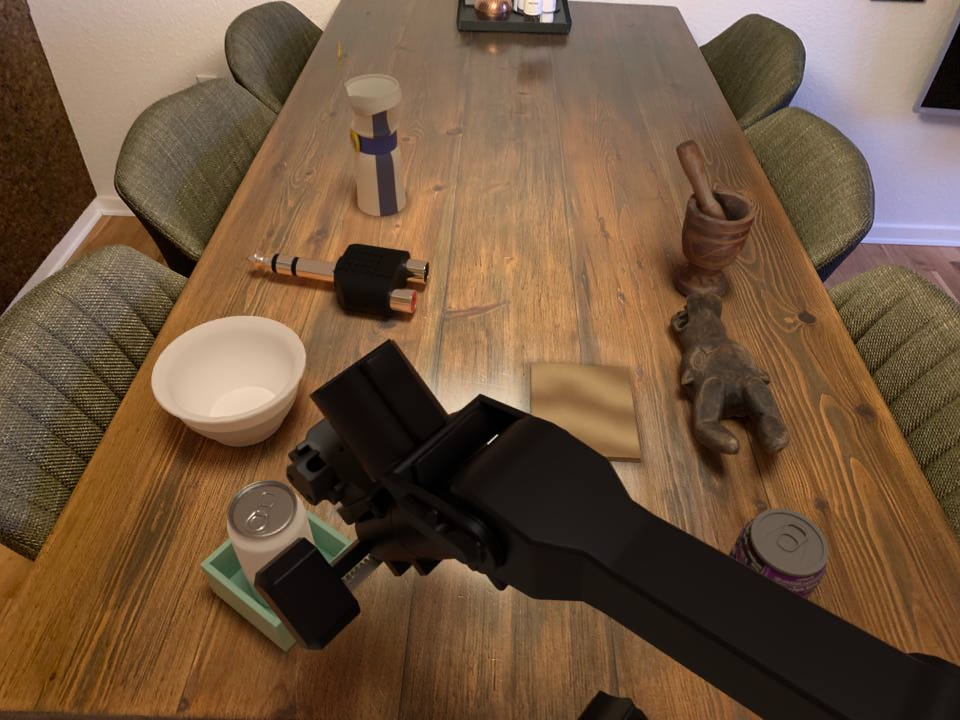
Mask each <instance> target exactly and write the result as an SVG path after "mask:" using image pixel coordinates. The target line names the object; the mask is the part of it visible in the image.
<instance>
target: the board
mask: <svg viewBox="0 0 960 720" xmlns="http://www.w3.org/2000/svg"><path fill="white" fill-rule="evenodd" d="M629 371H630V370H629V367H628V366H616V365H615V366H614V365H613V366H612V365H595V364H575V363H555V362H535V361H532V362H530V414H531V415H533V416H536V417H539V418H542V419H545V420H547V421H550V422H553V423H554V424H556V425H558V426H559V427H561V428H563V429H565V430H567V431H568V432H569V433H570V434H571V435H573V436H574V437H576V438H577V439H579V440H580V441H582V442H583V443H585V444H586V445H588V446H589V447H591V448H592V449H594V450H595V451H597V452H598V453H600V454H601V455H603V456H604V457H606V458H607V459H608V460H609V461H610V462H611V461H613V462H629V463H630V462H633V463H634V462H635V463H640V462H641V459H642V455H641V449H640V442H639V434H638V428H637V420H636V414H635V407H634V399H633V393H632V385H631V379H630V372H629Z"/></svg>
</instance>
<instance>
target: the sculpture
mask: <svg viewBox="0 0 960 720" xmlns="http://www.w3.org/2000/svg"><path fill="white" fill-rule="evenodd" d="M722 312H723V302H722V298H720V297H719V296H717V295H715V294H710V293H703V292H702V293H695V294H691V295H689V296H686V304H685V305H684V306H683V310H679V311H677V312H676V313H675V314H673V315H672V316H671V317H670V325H671V328H672V330H673V332H675V334H676V335H678V338H679V341H680V343H681V346H682V348H683V350H684V353H683V355H682V357H681V359H680V364H679V365H680V366H679V371H680V379H681V381H680V382H681V383H680V385H682V386H683V387H684V389H685V391H686V393H687V394H688V397H689V398H690V400H691V401H692V403H693V406H692V421H693V430H694V433H695V438H696V440H697V441H698V442H699V443H700V444H701V445H702V446H704V447H705V448H707V449H709V450H711V451H713V452H716V453H717V454H721V455H726V456H737V455H738V454H739V452H740V450H741V445H740V442H739V441H740V440H739V439H738V438H737V437H736V436H735V434H734V433H732V432H731V431H730V430H729V429H728V428H727V427H726V426H725V425H722V424H721V423H722V422H721V421H722V419H726V418H730V417H731V418H732V417H740V418H743V417H746V416H748V415H749V417H750V418H751V420H752V422H753V424H754V425H755V427H756V434H757V436H758V439H759V441H760V443H761V445H762V448H763V449H764V450H765V451H766V452H767V453H768V454H769V455H770V454H771V455H776V454H778V453H781V452H782V451H783V450H785V449H786V448H787V446H788V445H789V443H790V439H791V436H790V432H789V428H788V427H787V426H786V425H785V424H784V423H783V421H782V416H781V411H780V408H779V405H778V403H777V400H776V397H775V396H774V394H773V392H772V390H771V389H770V387H769V386H768V385H769V384H770V383H771V382H772V380H773V377H772V375H771V373H769V372H768V371H766V370H765V369H763V368H762V367H759V366H758V364H757V362H756V360H755V358H754V356H753V355H752V354H751V353H750V351H749V350H748V349H747V347H745V346H744V345H742V344H740V343H739V342H737V341H735V340H733V339H730V338H729V337H728V334H727V329H726V327H725V325H724V323H723V321H722V318H721V317H722Z"/></svg>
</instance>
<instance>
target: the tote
mask: <svg viewBox="0 0 960 720" xmlns="http://www.w3.org/2000/svg"><path fill="white" fill-rule="evenodd" d="M305 511H306V514H307V518H308V521H309V525H310V529H311V532H312V536H313V540H314V544H315V546H316V547H317V548H318V550H319V551H320V552H321V553H322V555H323V556H324V557H325V559H326V560H327V561H328V563H331V562H332V561H333V560H334V559H335V558H336V557H337V556H338V555H340V554H341V553H342V552H343V551H344V550H345V549H346V548H348V547H349V546H350V545H351V544H352V543H353V542H354V541H352V540H350V539H349V538H347V537H346V536H345V535H343V534H342V533H340V532H339V531H337V530H336V529H335V528H333V527H332V526H331V525H329V524H328V523H326V522H325V521H323V520H322V519H320V517H318V516H316V515H315V514H314V513H313V512H311V511H309V510H308V509H307V508H305ZM359 563H360V562H359ZM359 563H358V564H357V565H356V566H358V567H359V568H360V565H359ZM199 566H200V568H201V570H202V572H203V574H204V576H205V579H206V580H207V582H208V584H209V586H210V588H211V590H212V592H213V593H214V594H216V595H217V596H218V597H219V598H220V599H221V600H222V601H224V602H225V603H226V604H227V605H229V606H230V607H231V608H232V609H233V610H235V611H236V612H237V613H238V614H239V615H240V616H242V617H243V618H244V619H245V620H246V621H248V622H249V623H250V624H251V625H252V626H253V627H254V628H256V629H257V630H258V631H260V632H261V633H262V634H263V635H265V637H267V638H268V639H269V640H270V641H271V642H273V644H275V645H276V646H277V647H279V648H280V649H281V650H282V651H283V652H285V653H287V652H288V651H289V650H290V649H291V648H292V646H293V645H294V644H295V643H297V641H296V640H295V639H294V637H293V636H292V635H291V634H290V632H289V631H288V630H287V628H286V627H285V626H284V625H283V623H282V622H281V621H280V619H279V618H278V617H277V616H276V614H275V613H274V612H273V610H272V609H271V608H270V607H267V606H265V605H263V604H262V603H261V602H259V601H258V600H257V598H256V597H255V596H254V594H253V592H252V590H251V588H250V585H249V583H248V581H247V579H246V576H245V574H244V572H243V569H242V567H241V565H240V562H239V560H238V557H237V555H236V553H235V550H234V548H233V546H232V543H231V541H230V538H229V537H228V538H227V539H226V540H225V541H224V542H223V543H222V544H220V545H219V546H218V547H217V548H216V549H215V550H214V551H213V552H212V553H210V555H208V557H206V558H205V559H204V560H203V561H202V562H200V563H199ZM356 566H355V567H356ZM355 567H354V568H353V569H352V570H353V571H355ZM355 572H356V571H355ZM346 575H350V576H351V573H350V571H349V572H348V573H347V574H346ZM346 575H345V576H344V577H343V578H342V579H345V580H347V578H346Z"/></svg>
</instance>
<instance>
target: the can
mask: <svg viewBox="0 0 960 720" xmlns="http://www.w3.org/2000/svg"><path fill="white" fill-rule="evenodd" d="M305 509H306V508H305V504H304V502H303V500H302V499H301V498H300V496H299V495H298V494H296V493H295V491H294V490H293V488H292V487H291V486H289V485H288V484H286V483H285V482H283V481H280V480H275V479H262V480H258V481H257V480H256V481H254V482H251V483H250V484H248V485H246V486H244V487H242V488H241V489H240V490H238V492H237V493H236V494H234V496H233V498H232V499H231V500H230V502H229V504H228V508H227V518H226V519H227V520H226V531H227V535H228V539H229V538H230V541H231V543H232V546H233V548H234V550H235V553H236V555H237V557H238V560H239V562H240V565H241V567H242V569H243V572H244V574H245V576H246V579H247V581H248V583H249V585H250V588H251V590H252V592H253V594H254V596H255V597H256V598H257V600H258V601H259V602H261V603H262V604H263V605H265V606H267V607H270V606H269V605H268V604H267V603H266V601H265V600H264V599H263V597H262V596H261V595H260V594H259V592H258V591H257V590H256V588H255V587H254V580H255V573H256V572H257V571H258V570H260V569H261V568H262V567H263V566H265V565H266V564H267V563H268V562H269V561H271V560H272V559H273V558H274V557H275V556H277V555H278V554H279V553H280V552H281V551H283V550H284V549H285V548H286V547H287V546H289V545H290V544H292V543H293V542H294V541H295V540H296V539H298V538H299V537H300V538H302V537H305V538H306V539H307V540H309V541H310V542H311V543H312V544H313V545H315V544H314V540H313V536H312V532H311V529H310V525H309V521H308V518H307V514H306V511H305Z"/></svg>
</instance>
